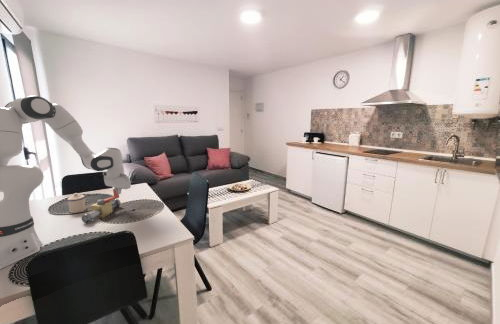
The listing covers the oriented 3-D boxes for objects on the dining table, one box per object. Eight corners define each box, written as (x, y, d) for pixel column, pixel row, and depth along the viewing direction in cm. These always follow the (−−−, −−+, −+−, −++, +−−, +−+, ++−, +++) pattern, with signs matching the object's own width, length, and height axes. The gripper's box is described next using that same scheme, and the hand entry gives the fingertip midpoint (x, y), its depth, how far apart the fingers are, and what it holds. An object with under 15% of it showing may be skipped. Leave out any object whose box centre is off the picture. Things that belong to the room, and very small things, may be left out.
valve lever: (99, 204, 130) (98, 195, 129) (96, 203, 132) (94, 194, 130) (119, 197, 142) (118, 188, 140) (116, 196, 143) (115, 188, 142)
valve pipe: (92, 223, 122) (90, 211, 121) (81, 223, 123) (79, 210, 122) (122, 207, 146) (120, 196, 144) (112, 206, 147) (111, 195, 145)
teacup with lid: (90, 208, 143) (87, 192, 140) (75, 214, 134) (72, 196, 132) (78, 206, 147) (75, 189, 145) (63, 211, 139) (59, 194, 136)
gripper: (132, 173, 136) (134, 194, 139) (110, 170, 144) (113, 190, 147) (122, 175, 130) (125, 197, 133) (100, 172, 138) (104, 193, 141)
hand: (118, 193), depth 140 cm, fingers closed
